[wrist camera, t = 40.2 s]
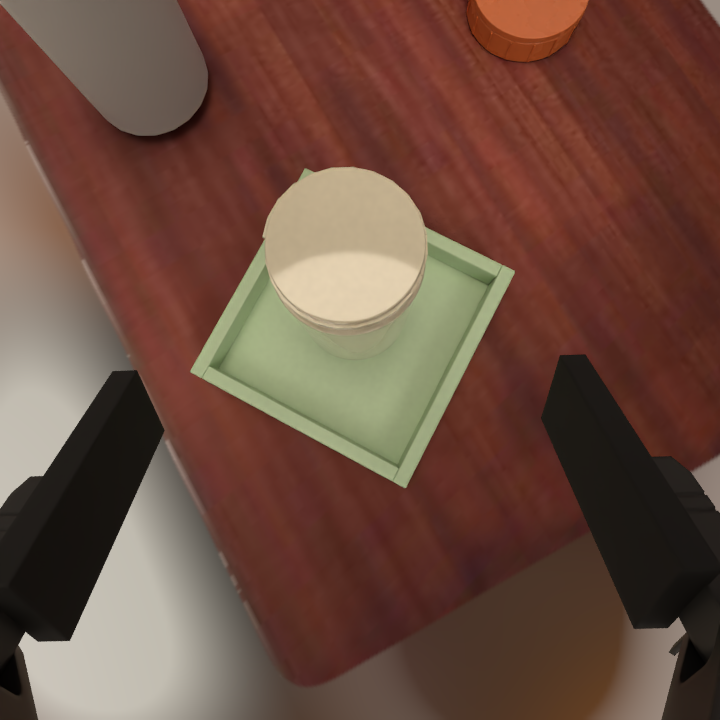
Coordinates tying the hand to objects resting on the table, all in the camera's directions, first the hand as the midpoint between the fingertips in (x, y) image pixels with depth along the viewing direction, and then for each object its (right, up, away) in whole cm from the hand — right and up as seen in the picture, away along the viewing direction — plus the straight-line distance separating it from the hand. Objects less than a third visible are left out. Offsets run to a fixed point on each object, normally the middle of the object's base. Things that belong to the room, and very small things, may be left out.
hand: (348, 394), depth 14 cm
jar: (0, +4, +13) cm, 13 cm away
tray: (0, +3, +13) cm, 13 cm away
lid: (+11, +24, +14) cm, 30 cm away
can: (-13, +19, +15) cm, 28 cm away
